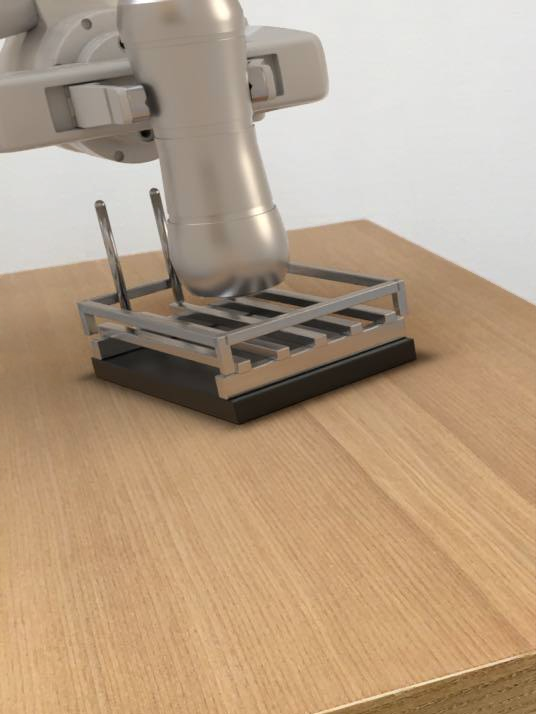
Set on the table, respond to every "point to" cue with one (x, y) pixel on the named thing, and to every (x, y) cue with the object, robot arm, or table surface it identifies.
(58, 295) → the table surface
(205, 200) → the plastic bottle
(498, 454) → the table surface
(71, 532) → the table surface
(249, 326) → the dish rack
